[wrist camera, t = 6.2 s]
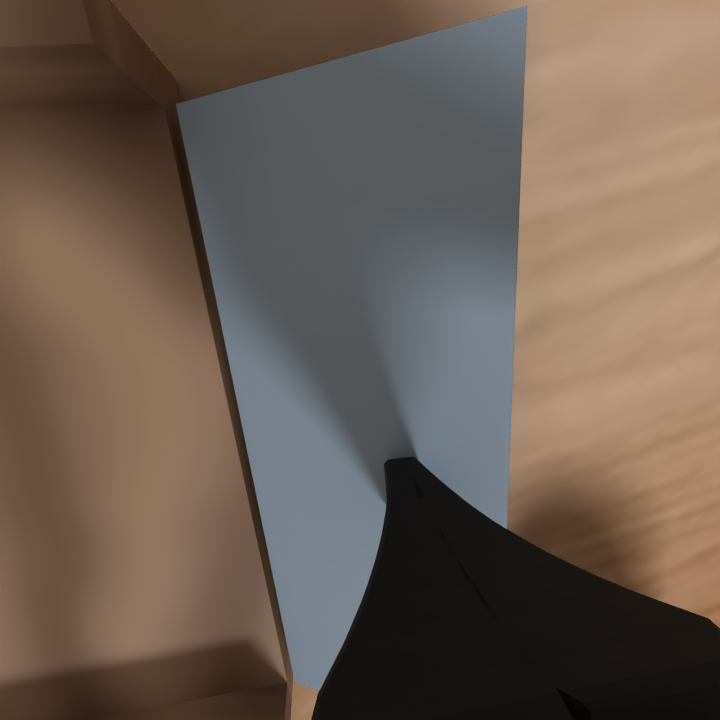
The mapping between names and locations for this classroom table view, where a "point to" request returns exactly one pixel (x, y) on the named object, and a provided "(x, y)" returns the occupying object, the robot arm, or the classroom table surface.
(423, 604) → the robot arm
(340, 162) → the panel
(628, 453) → the classroom table surface
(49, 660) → the tray
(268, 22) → the classroom table surface
